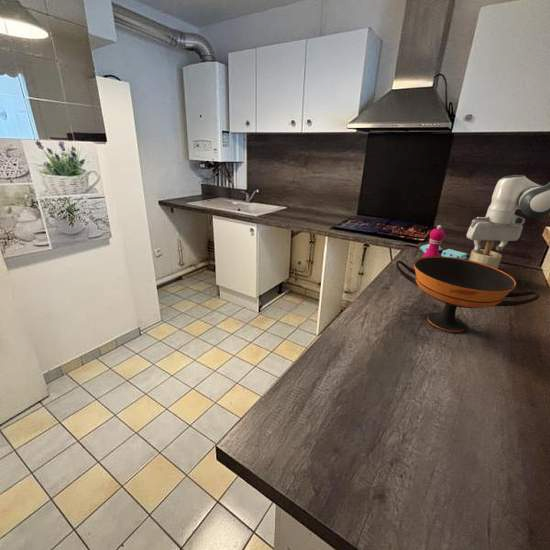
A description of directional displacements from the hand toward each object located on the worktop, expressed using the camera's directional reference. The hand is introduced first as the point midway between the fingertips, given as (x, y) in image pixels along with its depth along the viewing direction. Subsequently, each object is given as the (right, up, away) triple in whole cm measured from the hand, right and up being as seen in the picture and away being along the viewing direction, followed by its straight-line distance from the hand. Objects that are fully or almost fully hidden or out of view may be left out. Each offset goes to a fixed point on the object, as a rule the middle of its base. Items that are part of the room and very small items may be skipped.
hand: (487, 250), depth 122 cm
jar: (0, -11, +5) cm, 12 cm away
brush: (-1, -11, +5) cm, 12 cm away
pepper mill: (-18, -7, +13) cm, 23 cm away
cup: (-36, -26, -31) cm, 54 cm away
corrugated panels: (+3, -2, +26) cm, 26 cm away
